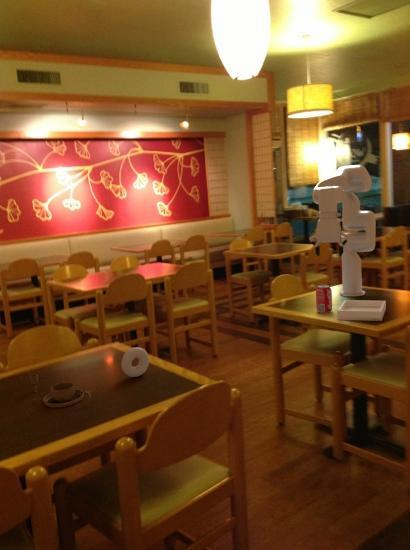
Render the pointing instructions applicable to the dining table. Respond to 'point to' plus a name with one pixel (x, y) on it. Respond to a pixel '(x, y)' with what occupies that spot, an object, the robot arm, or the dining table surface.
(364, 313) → the tray
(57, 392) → the place setting
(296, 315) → the dining table surface
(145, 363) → the donut
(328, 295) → the soda can
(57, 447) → the dining table surface
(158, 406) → the dining table surface
